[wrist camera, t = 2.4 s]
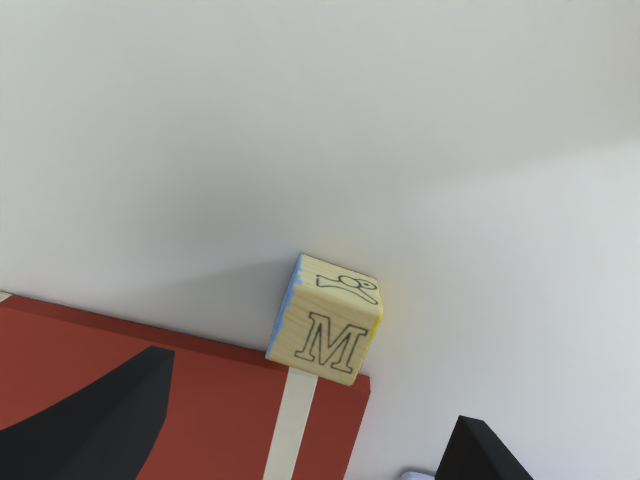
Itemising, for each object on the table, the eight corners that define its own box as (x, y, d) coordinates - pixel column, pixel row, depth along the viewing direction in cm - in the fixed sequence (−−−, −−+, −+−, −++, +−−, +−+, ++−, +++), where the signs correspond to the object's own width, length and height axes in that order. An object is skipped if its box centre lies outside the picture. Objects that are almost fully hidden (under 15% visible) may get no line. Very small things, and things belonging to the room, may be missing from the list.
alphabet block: (301, 248, 17) (290, 282, 14) (379, 276, 17) (385, 315, 15) (275, 317, 18) (262, 361, 15) (350, 343, 18) (350, 391, 16)
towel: (370, 375, 19) (371, 391, 18) (311, 563, 22) (310, 585, 21) (-66, 275, 19) (-90, 286, 18) (-55, 481, 22) (-73, 499, 21)
